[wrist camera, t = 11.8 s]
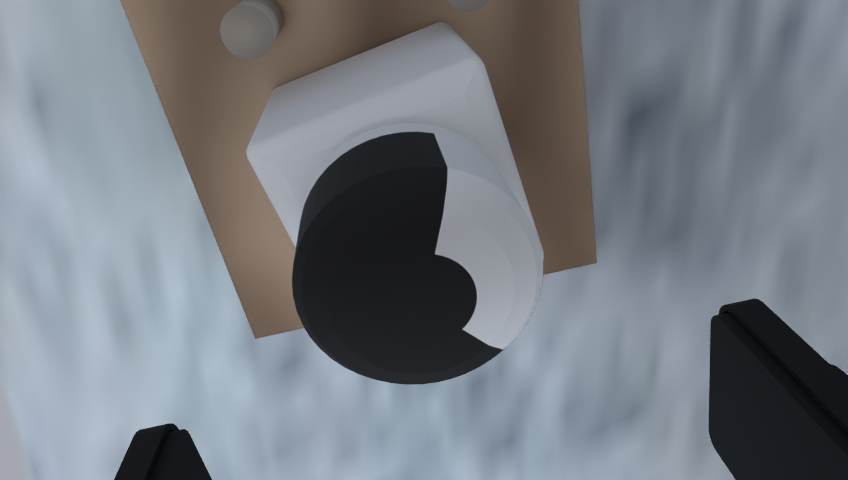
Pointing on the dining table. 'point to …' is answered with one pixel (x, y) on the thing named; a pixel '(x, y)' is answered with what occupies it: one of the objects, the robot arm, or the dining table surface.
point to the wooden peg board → (334, 42)
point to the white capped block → (401, 209)
